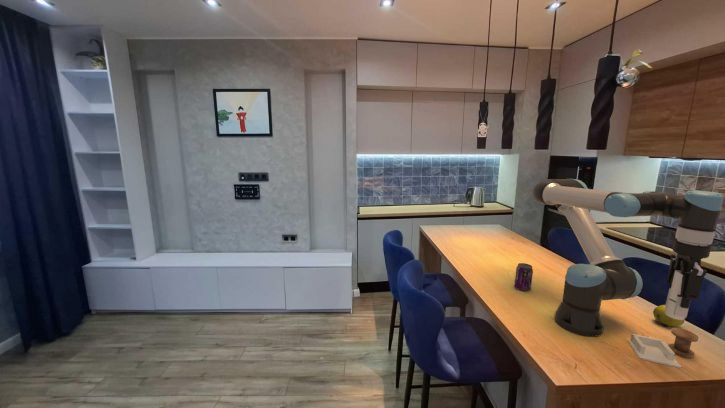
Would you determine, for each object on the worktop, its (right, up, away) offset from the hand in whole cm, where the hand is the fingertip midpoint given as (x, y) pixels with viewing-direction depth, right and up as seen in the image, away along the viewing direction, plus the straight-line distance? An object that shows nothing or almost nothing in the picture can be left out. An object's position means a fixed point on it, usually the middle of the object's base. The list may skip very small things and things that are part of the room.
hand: (675, 311), depth 93 cm
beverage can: (-22, -7, +50) cm, 55 cm away
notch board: (-3, -16, +5) cm, 17 cm away
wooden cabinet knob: (+8, -16, +5) cm, 18 cm away
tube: (0, -2, 0) cm, 2 cm away
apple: (+19, -13, +21) cm, 31 cm away
